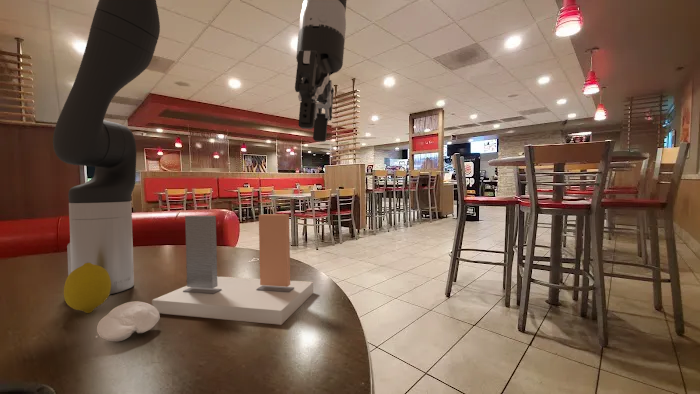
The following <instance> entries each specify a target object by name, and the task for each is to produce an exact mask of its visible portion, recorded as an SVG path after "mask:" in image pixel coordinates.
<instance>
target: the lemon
mask: <svg viewBox="0 0 700 394" xmlns="http://www.w3.org/2000/svg"><path fill="white" fill-rule="evenodd" d="M110 290H111V279H110V276H109V274H108V272H107V271H106V270H105V269H104V268H103V267H101V266H98V265H94V264H91V263H85V264H84V265H83V266H81V267H79V268H77V269H75V270H74V271H73V272H71V273H70V274H69V276H67V277H66V279H65V282H64V286H63V297H64V301H65V303H66V304H67V306H69V307H70V308H71V309H73V310H76V311H81V312H84V313H85V314H91V313H92V312H94V310H95V309H96V308H98V307H100V306H101V305H103V304H104V303H105V302H106V301H107V300H108V298H109V296H110V295H111V294H110Z"/></svg>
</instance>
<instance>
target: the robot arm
mask: <svg viewBox="0 0 700 394" xmlns="http://www.w3.org/2000/svg"><path fill="white" fill-rule="evenodd" d="M346 9H347V0H302V7H301V11H300V14H299V15H300V16H299V23H298V24H299V25H298V37H297V46H296V55H295V56H296V62H297V67H296V74H295V83H294V90H295V92H296V93H298V95H297V97H298V100H299V102H300V103H299V116H298V127H300V128H301V129H303V130H304V129H305V130H312V129H313V137H312V139H313V140H314V142H319V143H320V142H321V143H322V142H323V143H324V142H326V141H327V135H328V133H327V132H328V122H330V121H332V119H333V103H334V100H333V99H334V92H335V90H334V87H333V80H331V79H330V76H331V75H333V74H335V73H338V72H339V71H340V70H341V69H342V67H343V65H344V53H345V43H346V42H345V40H346V28H347V27H346V26H347V22H346V20H347V19H346V18H347V17H346ZM159 15H160V14H159V9H158V6H157V0H98V2H97V5H96V8H95V11H94V15H93V18H92V21H91V25H90V28H89V34H88V37H87V41H86V46H85V49H84V52H83V55H82V58H81V62H80V65H79V68H78V70H77V74H76V76H75V79H74V82H73V84H72V86H71V89H70V91H69V94H68V96H67V98H66V100H65V103H64V105H63V107H62V109H61V112H60V114H59V115H58V119H57V121H56V125H55V127H54V130H53V136H52V146H53V152H54V153H55V155H56V157H58V159H59V160H60V161H61V162H63V163H66V164H69V165H75V166H81V167H92V168H93V167H94V169H95V170H94V173H93V176H92V178H91V179H89V180H88V181H86V182H84V183H81V184H78V185H75V186H72V187H71V188H69V190H68V219H69V243H67V246H66V248H67V250H66V251H67V252H66V253H67V275H68V276H69V274H70V273H71V272H73V271H74V270H75V269H77V268H79V267H81V266H83V265H84V264H85V263H91V264H94V265H98V266H101V267H103V268H104V269H105V270H106V271H107V272H108V274H109V276H110V279H111V290H110V294H109V295H112V294H116V293H120V292H124V291H127V290H129V289H131V288H133V287H134V286H135V285H134V284H135V274H134V245H133V244H134V243H133V241H134V240H133V238H134V236H133V215H132V214H133V212H132V208H133V207H132V194H133V191H134V189H135V186H136V180H137V179H136V178H137V176H136V174H137V142H136V138H135V136H134V133H133V132H132V130H130V128H129V127H128V126H126V125H125V124H121V123H118V122H114V121H111V120H106V119H105V116H106V114H107V111H108V109H109V106H110V104H111V102H112V101H113V99H114V97H115V96H116V95H117V93H118V92H119V91H120V90H122V89H123V88H124V87H125V86H127V85H128V84H129V83H131V82H132V81H133V80H135V79H136V78H137V77H139V76H140V75H141V74H142V73H143V72H144V71H145V70H146V69H147V68H148V67H149V65H150V64H151V62H152V59H153V57H154V53H155V51H156V47H157V44H158V40H159V38H160V37H159V36H160V32H161V24H160V16H159ZM323 109H324V113H323ZM68 276H67V277H68Z"/></svg>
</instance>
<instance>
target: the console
mask: <svg viewBox="0 0 700 394" xmlns="http://www.w3.org/2000/svg"><path fill="white" fill-rule="evenodd" d="M313 294H314V282H313V281H304V280H302V281H301V280H290V285H289V286H288V287H284V286H268V285H260V278H251V277H248V278H247V277H235V276H233V277H230V276H218V275H217V287H215V288H199V287H187V285H185V286H181V287H180V288H177V289H175V290H173V291H170V292H168V293H165V294H163V295H161V296H159V297H155V298H153V299H152V300H151V305H152V306H154V307H155V308H156V309H157V310H158V312H159V314H161V315H162V314H163V315H174V316H185V317H195V318H205V319H215V320H226V321H227V320H228V321H239V322H248V323H249V322H250V323H260V324H268V325H269V324H270V325H271V324H272V325H278V326H281V325H283V324H284V323H285V322H286V320H288V319H289V318H290V317H291V316H292V315H293V314H294V313H295V312H296V311H297V310H298V309H299V308H300V307H301V306H302V305H303V304H304V303H305V302H306V301H307V300H308V299H309V298H310V296H312V295H313Z"/></svg>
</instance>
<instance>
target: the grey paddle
mask: <svg viewBox="0 0 700 394" xmlns="http://www.w3.org/2000/svg"><path fill="white" fill-rule="evenodd" d="M184 219H185V220H184V221H185V222H184V223H185V254H186V256H185V259H186V261H185V262H186V264H185V265H186V286H187V287H199V288H215V287H217V276H218V257H217V256H218V251H217V249H218V248H217V247H218V246H217V218H216V215H185V218H184Z"/></svg>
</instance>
